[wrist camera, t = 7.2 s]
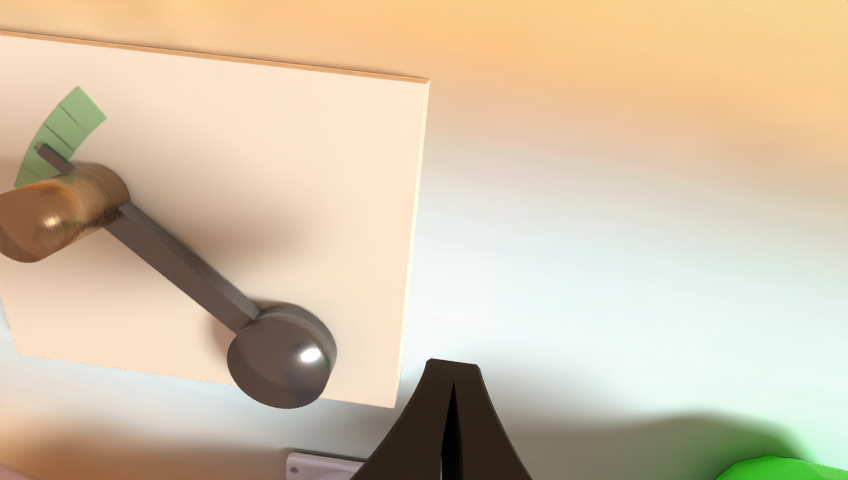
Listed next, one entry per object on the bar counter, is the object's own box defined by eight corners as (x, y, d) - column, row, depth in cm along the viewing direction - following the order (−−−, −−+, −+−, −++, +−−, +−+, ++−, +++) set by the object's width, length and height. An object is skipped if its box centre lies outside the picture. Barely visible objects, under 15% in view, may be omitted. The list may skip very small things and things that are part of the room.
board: (399, 380, 24) (393, 410, 23) (50, 331, 25) (16, 355, 23) (430, 79, 18) (425, 84, 16) (-31, 26, 19) (-87, 25, 17)
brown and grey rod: (356, 351, 21) (333, 417, 17) (296, 400, 23) (262, 470, 19) (71, 107, 18) (-33, 125, 14) (22, 183, 19) (-83, 218, 16)
